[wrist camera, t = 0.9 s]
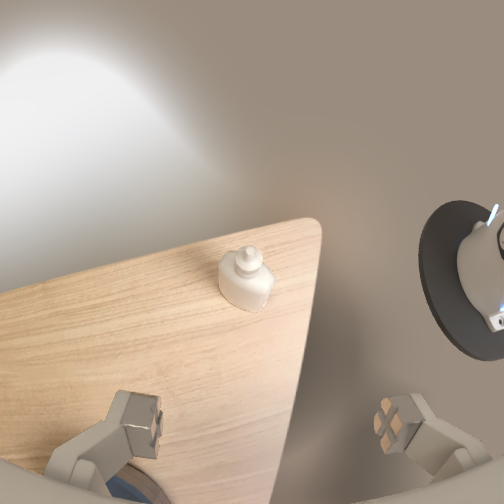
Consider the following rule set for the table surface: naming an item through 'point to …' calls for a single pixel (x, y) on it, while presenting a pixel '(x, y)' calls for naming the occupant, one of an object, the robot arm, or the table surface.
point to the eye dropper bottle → (245, 279)
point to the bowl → (135, 487)
